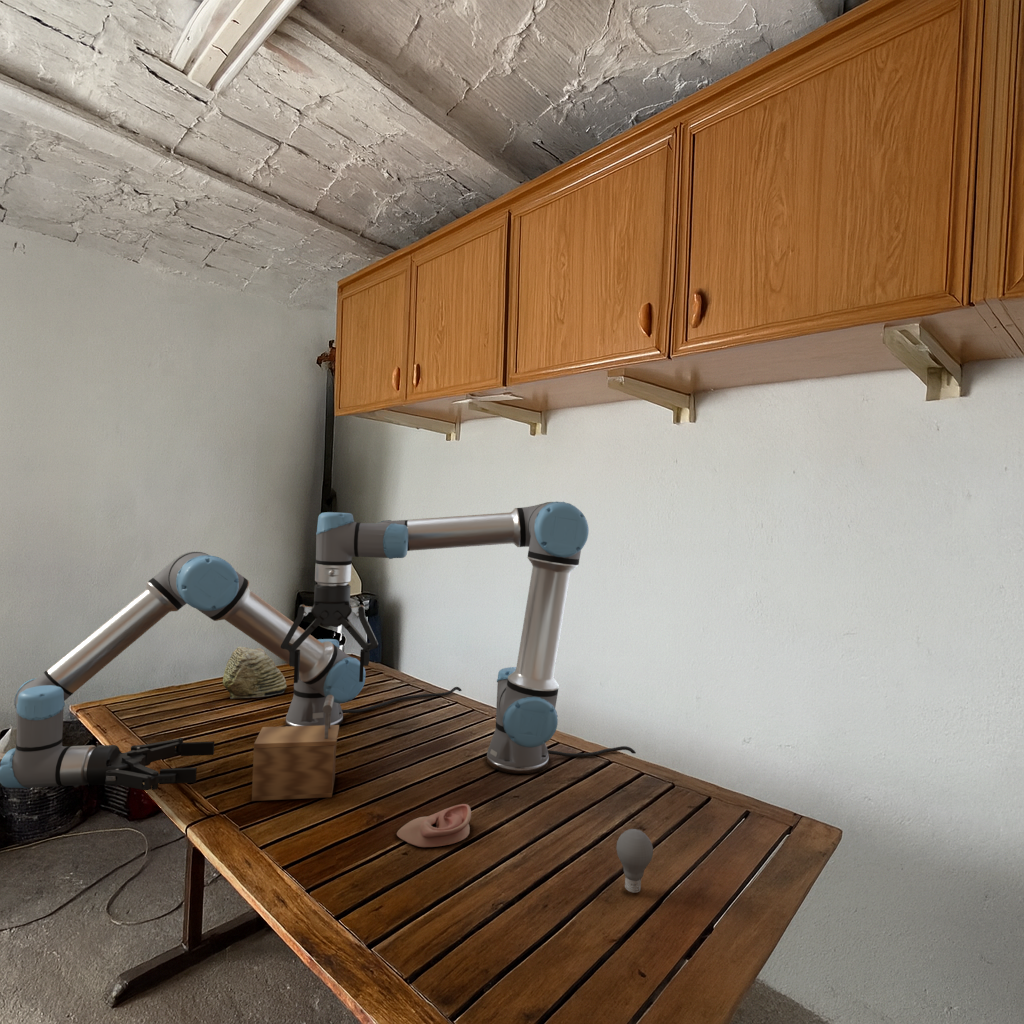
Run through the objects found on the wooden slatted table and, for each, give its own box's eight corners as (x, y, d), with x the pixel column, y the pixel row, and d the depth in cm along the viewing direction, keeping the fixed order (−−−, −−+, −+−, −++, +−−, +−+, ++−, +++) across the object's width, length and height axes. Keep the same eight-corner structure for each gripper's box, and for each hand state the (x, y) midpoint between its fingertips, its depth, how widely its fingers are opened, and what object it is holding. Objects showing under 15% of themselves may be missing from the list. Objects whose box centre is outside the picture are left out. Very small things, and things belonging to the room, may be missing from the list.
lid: (339, 729, 143) (340, 692, 143) (336, 745, 134) (337, 706, 134) (262, 731, 140) (263, 693, 140) (253, 748, 130) (255, 708, 130)
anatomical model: (391, 821, 117) (413, 793, 128) (390, 842, 117) (412, 813, 128) (460, 832, 114) (476, 802, 125) (459, 853, 114) (475, 822, 126)
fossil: (218, 695, 195) (220, 647, 195) (278, 685, 208) (279, 640, 207) (228, 703, 189) (230, 653, 188) (289, 692, 201) (290, 645, 201)
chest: (334, 777, 143) (336, 729, 143) (331, 797, 134) (333, 745, 134) (260, 780, 140) (262, 731, 140) (251, 801, 131) (253, 748, 130)
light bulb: (610, 879, 108) (613, 822, 108) (644, 879, 109) (647, 822, 109) (619, 902, 102) (622, 840, 102) (655, 901, 103) (658, 840, 103)
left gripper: (117, 758, 141) (219, 754, 145) (61, 813, 116) (186, 807, 121) (118, 725, 141) (220, 722, 145) (63, 773, 116) (187, 768, 121)
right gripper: (269, 584, 131) (265, 686, 132) (391, 586, 136) (387, 684, 137) (275, 580, 138) (271, 676, 139) (391, 582, 144) (387, 675, 144)
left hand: (205, 760), depth 133 cm, fingers open, 13 cm apart
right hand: (329, 680), depth 138 cm, fingers open, 13 cm apart
